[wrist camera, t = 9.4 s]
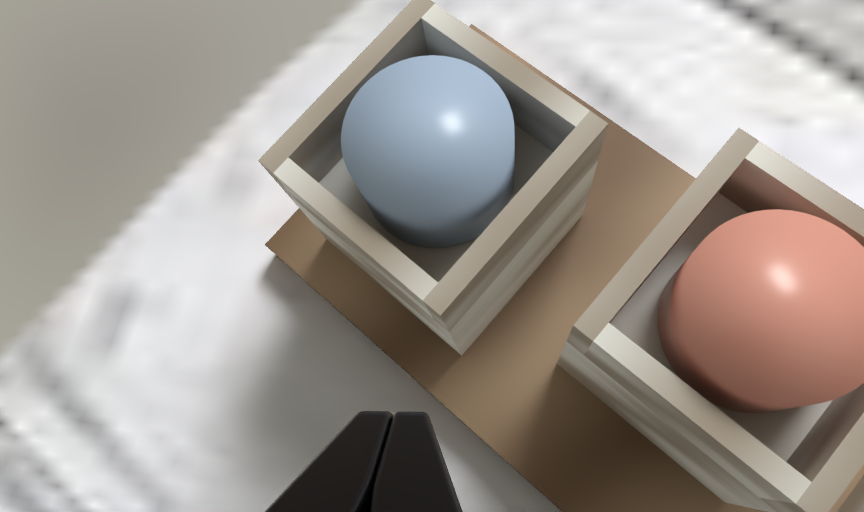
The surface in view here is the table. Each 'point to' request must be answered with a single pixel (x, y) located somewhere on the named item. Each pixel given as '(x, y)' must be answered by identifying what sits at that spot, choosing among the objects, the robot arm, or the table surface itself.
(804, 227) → the red button
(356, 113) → the blue button
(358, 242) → the button console
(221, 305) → the table surface
